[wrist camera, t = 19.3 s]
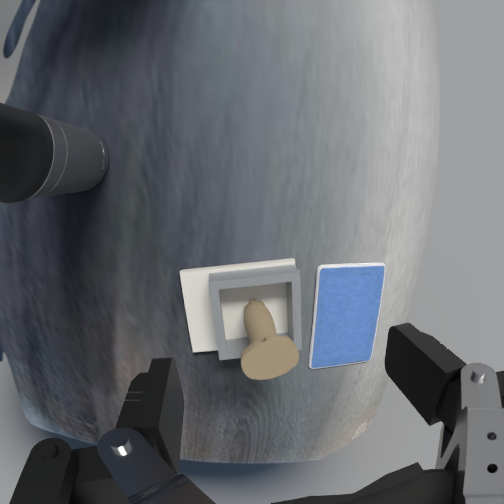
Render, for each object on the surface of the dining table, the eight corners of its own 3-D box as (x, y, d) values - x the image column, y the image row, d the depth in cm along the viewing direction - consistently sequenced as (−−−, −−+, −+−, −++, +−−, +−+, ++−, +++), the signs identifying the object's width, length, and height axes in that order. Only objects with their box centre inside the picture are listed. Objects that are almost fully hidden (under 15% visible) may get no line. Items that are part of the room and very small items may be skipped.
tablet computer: (368, 358, 55) (371, 362, 54) (306, 367, 54) (308, 371, 52) (383, 261, 50) (387, 263, 49) (315, 263, 49) (317, 266, 48)
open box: (193, 348, 50) (191, 365, 45) (180, 269, 46) (176, 280, 41) (295, 336, 51) (303, 352, 46) (293, 258, 48) (301, 267, 43)
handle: (278, 314, 48) (302, 367, 34) (239, 327, 48) (249, 385, 34) (270, 287, 47) (292, 333, 33) (229, 300, 47) (235, 352, 32)
